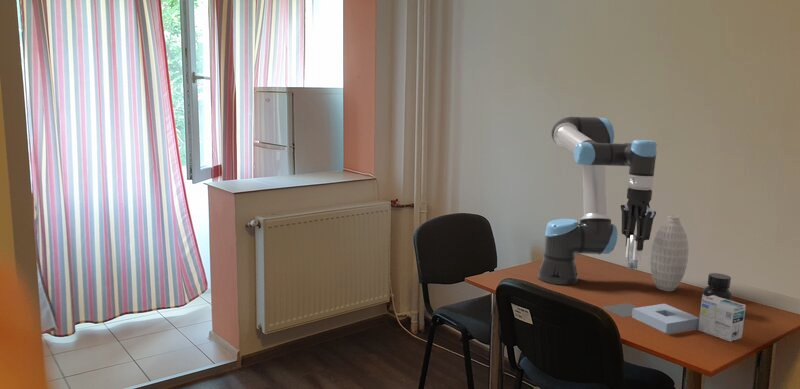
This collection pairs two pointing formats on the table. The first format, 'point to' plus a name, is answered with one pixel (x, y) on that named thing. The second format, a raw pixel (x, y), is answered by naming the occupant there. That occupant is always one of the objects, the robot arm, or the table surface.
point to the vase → (669, 254)
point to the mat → (621, 309)
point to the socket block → (666, 318)
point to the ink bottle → (718, 286)
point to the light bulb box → (721, 318)
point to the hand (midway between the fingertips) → (633, 258)
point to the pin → (632, 263)
